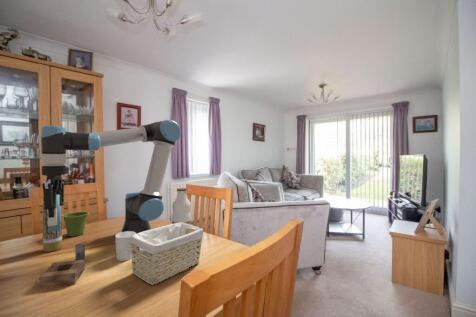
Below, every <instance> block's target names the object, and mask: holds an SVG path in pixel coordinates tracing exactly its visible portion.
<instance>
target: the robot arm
mask: <svg viewBox="0 0 476 317" xmlns="http://www.w3.org/2000/svg"><path fill="white" fill-rule="evenodd" d="M40 134H41V136H40V142H41V144H40V146H41V149H40V150H41V156H40V157H39V158H40V159H41V164H42V166H41V176H45V177H46V181H45V183H42V184H41V186H42V191H43V193H42V194H43V197H44V209H48V226H53V225H57V208H56V195H57V194H58V195H60V222H61V206H62V207H63V206H65V203H64V202H65V182H66V179H62V178H63V177H62V176H64V175H66V174H67V166H66V164H67V151H73V152H77V151H89V152H91V151H92V152H93V151H99V150H100V148H103V147H110V146H115V145H122V144H123V145H124V144H129V143H135V142H136V143H137V142H142V143H150V142H151V143H153V146H154V147H153V151H152V154H151V157H150V158H151V159H150V163H149V166H148V170H147V173H146V179H145V183H144V187H143V189H142V190H140V191H135V192H127V193H126V194H125V199H124V211H125V212H124V223H123V226H122V227H121V231H120V233H121V232H126V231H133V232H135V233H136V234H137V233H140V232H143V231H147V230H151V229H152V227H151V224H150V222H152V221H155V220H157V219H158V218H160V217H161V216H162V215H163V212H164V209H165V207H164V206H165V205H164V202H163V201H162V200H163V196H164V195H163V194H162V187H163V182H164V179H165V175H166V170H167V167H168V166H167V165H168V162H169V157H170V153H171V149H173V148H174V147H175V144H176V141H178V140H179V139H181V135H182V129H181V127H180V124H178V122H176V121H175V120H172V119H164V120H161V121H160V120H159V121H155V122H151V123H147V124H143V125H139V126H138V127H131V128H122V129H112V130H105V131H96V132H94V131H93V132H75V131H73V132H72V131H67V128H66V127H65V126H61V125H43V126H42V127H41V133H40Z"/></svg>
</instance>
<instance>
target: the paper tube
mask: <svg viewBox="0 0 476 317" xmlns="http://www.w3.org/2000/svg"><path fill="white" fill-rule="evenodd" d="M42 198H43V199H42V202H43V203H42V251H43V252H46V253H48V252H55V251H58V250H60V249H61V248H62V247H63V217H62V215H63V206H61V222H60V230H58V231H53V232H51V231H50V226H48V209H44V196H42Z"/></svg>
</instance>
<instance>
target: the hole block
mask: <svg viewBox="0 0 476 317" xmlns="http://www.w3.org/2000/svg"><path fill="white" fill-rule="evenodd" d="M85 270H86V258H85V259H83V260H75V259H74V260H67V261H60V262H59V261H58V262H53V263H52V264H50V265H49V267H47V269H46V270H45V271H44V272H42V274H40V275H39V276H38V290H43V289H44V288H45V289H51V288H50V287H52V288H57V286H59V287H66V286H72V285H71V284H73V285H76V283H77V282H78V280H80V279H79V278H81V276H82V275H83V273H84V272H85ZM65 285H66V286H65ZM45 289H44V290H45Z"/></svg>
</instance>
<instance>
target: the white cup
mask: <svg viewBox="0 0 476 317" xmlns="http://www.w3.org/2000/svg"><path fill="white" fill-rule="evenodd" d="M134 234H136V233H135V232H133V231H126V232H121V231H120V232H118V233H117V234H115V236H114V238H115V252H116V257H115V258H116V260H117V261H120V262H124V261H129V260H132V251H131V242H130V237H131V236H132V235H134Z"/></svg>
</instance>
